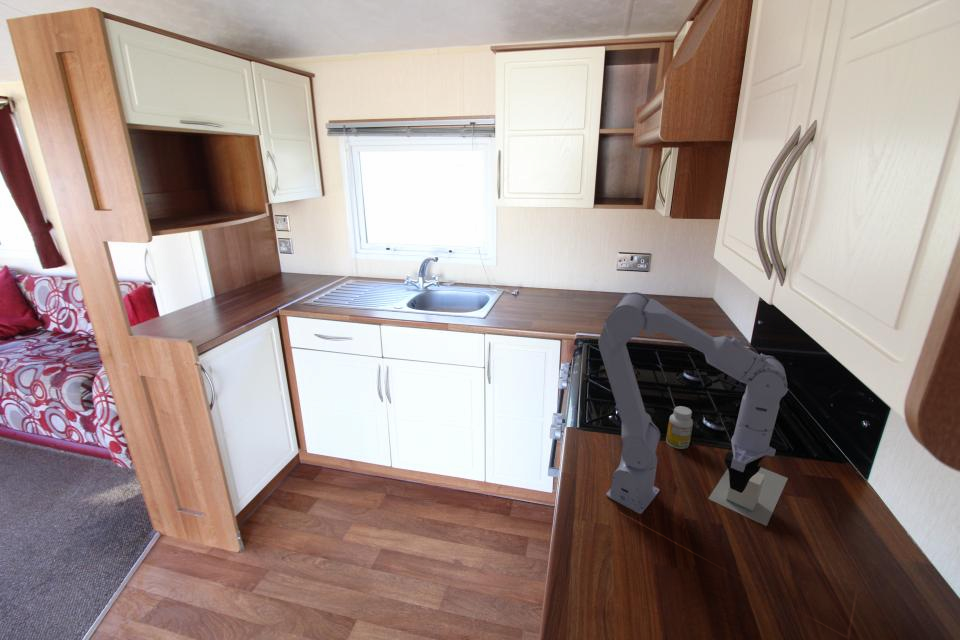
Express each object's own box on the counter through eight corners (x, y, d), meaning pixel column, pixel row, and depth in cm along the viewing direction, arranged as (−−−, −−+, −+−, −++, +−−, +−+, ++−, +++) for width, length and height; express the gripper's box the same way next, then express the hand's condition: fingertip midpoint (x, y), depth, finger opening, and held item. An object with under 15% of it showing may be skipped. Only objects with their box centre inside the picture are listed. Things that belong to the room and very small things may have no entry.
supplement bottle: (669, 434, 119) (675, 402, 116) (691, 442, 116) (697, 409, 112) (662, 444, 115) (668, 411, 112) (684, 452, 112) (691, 418, 109)
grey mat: (766, 527, 90) (766, 526, 90) (707, 499, 97) (708, 498, 97) (787, 479, 103) (788, 478, 103) (734, 458, 110) (735, 457, 110)
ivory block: (752, 512, 93) (759, 485, 91) (726, 500, 96) (732, 473, 94) (757, 502, 96) (765, 475, 93) (732, 490, 99) (738, 464, 97)
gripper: (770, 449, 75) (753, 514, 80) (789, 414, 85) (773, 473, 90) (724, 432, 80) (711, 494, 85) (748, 401, 90) (734, 458, 94)
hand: (740, 482), depth 88 cm, fingers open, 5 cm apart
